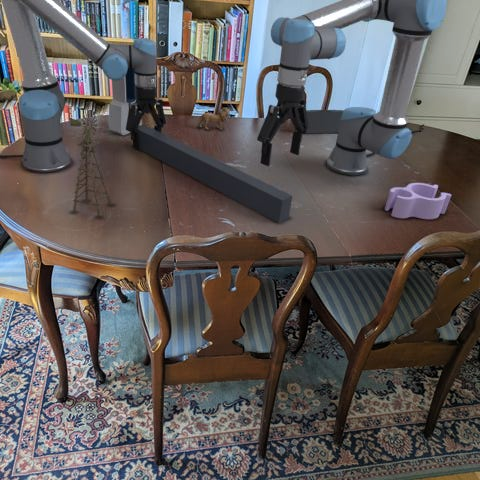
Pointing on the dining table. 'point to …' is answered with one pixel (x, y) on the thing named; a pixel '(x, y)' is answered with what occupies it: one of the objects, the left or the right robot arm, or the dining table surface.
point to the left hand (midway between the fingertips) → (146, 145)
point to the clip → (417, 201)
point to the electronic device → (122, 102)
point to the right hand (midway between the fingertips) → (280, 159)
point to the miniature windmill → (86, 142)
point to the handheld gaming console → (323, 121)
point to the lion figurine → (214, 118)
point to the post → (216, 174)
